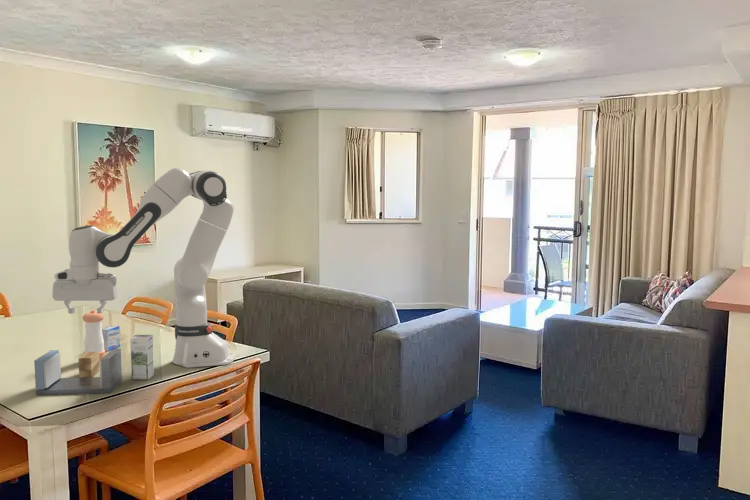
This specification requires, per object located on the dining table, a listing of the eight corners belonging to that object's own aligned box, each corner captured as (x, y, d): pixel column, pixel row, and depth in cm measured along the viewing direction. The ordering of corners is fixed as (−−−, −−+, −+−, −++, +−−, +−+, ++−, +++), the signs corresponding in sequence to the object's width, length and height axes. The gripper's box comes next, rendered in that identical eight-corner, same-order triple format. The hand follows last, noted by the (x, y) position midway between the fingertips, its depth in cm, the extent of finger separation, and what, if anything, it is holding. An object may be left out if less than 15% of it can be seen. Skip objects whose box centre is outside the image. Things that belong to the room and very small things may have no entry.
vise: (121, 380, 195) (120, 348, 194) (110, 393, 183) (109, 358, 182) (52, 382, 192) (50, 350, 191) (35, 395, 180) (34, 360, 179)
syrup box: (154, 374, 201) (153, 333, 200) (148, 380, 196) (147, 338, 194) (137, 374, 201) (136, 333, 200) (131, 380, 195) (129, 338, 194)
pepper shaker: (85, 358, 219) (83, 309, 217) (106, 357, 222) (104, 307, 220) (82, 364, 213) (80, 312, 211) (104, 362, 215) (102, 311, 213)
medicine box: (108, 351, 230) (107, 330, 229) (98, 350, 231) (97, 329, 230) (120, 346, 237) (120, 325, 237) (111, 345, 238) (110, 325, 237)
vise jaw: (61, 377, 192) (60, 349, 191) (45, 389, 180) (44, 360, 179) (52, 377, 192) (50, 350, 191) (35, 389, 180) (34, 360, 179)
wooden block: (99, 371, 205) (99, 351, 204) (91, 378, 197) (90, 358, 197) (87, 371, 205) (87, 351, 204) (79, 378, 197) (78, 358, 196)
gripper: (119, 272, 202) (120, 311, 203) (57, 271, 200) (59, 311, 201) (112, 274, 196) (114, 315, 197) (49, 274, 194) (51, 315, 195)
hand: (85, 313), depth 199 cm, fingers open, 8 cm apart
